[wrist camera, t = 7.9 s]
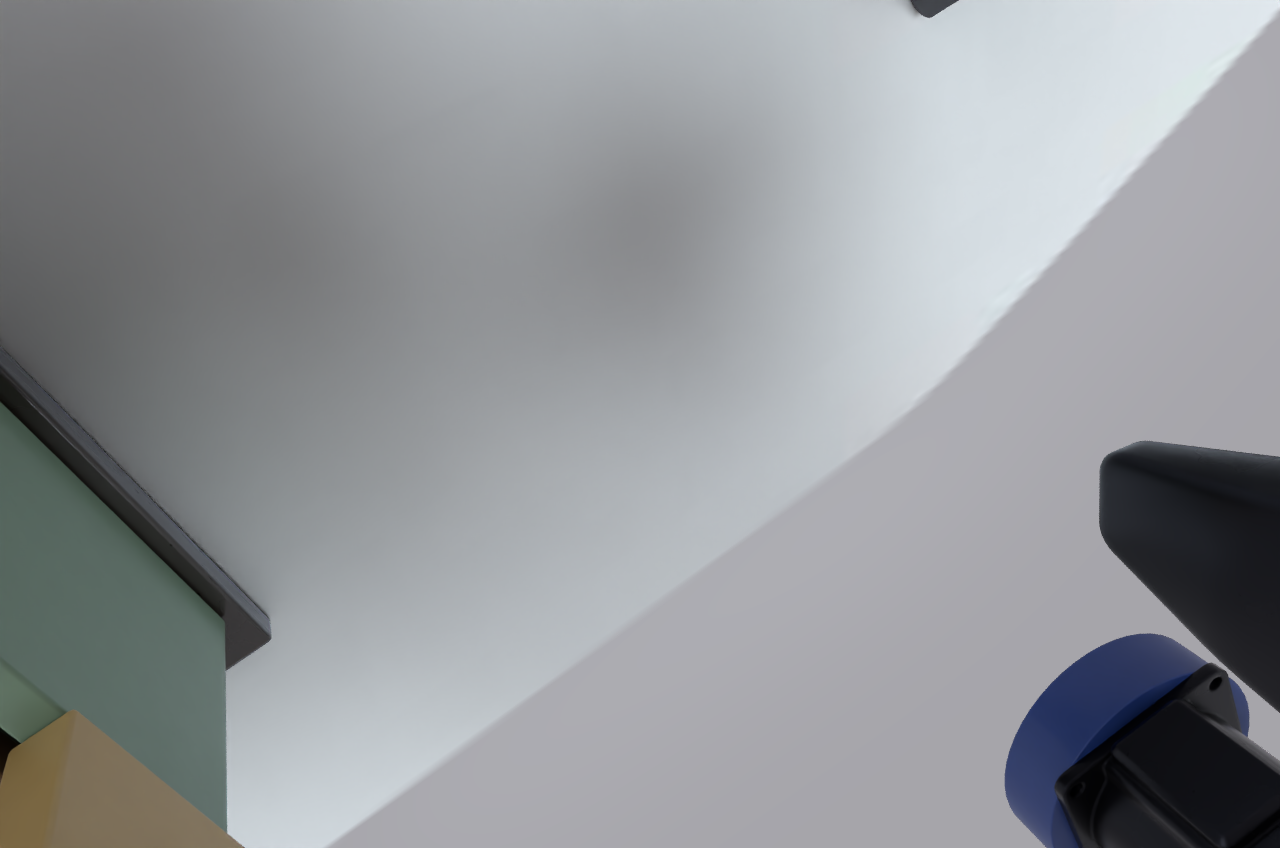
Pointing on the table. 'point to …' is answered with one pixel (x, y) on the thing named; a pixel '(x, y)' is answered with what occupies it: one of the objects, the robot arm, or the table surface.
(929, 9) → the phone stand
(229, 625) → the cabinet
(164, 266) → the table surface
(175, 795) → the door
